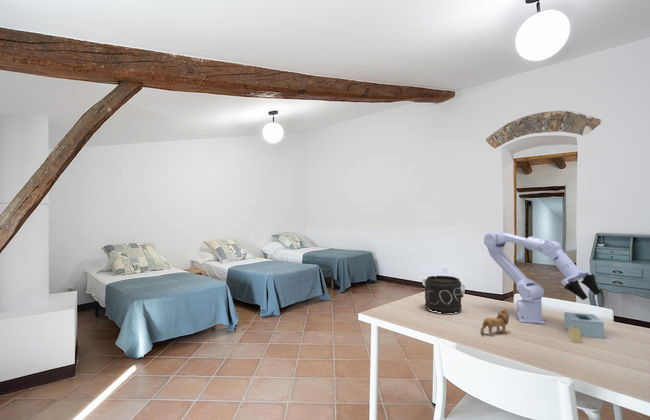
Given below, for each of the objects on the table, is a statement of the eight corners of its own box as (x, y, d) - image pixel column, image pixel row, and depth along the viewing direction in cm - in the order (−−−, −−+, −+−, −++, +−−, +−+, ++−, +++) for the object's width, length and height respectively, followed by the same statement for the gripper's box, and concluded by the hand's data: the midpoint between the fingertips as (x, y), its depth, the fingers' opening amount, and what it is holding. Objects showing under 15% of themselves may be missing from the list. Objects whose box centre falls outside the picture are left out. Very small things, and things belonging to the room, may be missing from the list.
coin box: (572, 335, 134) (572, 320, 134) (564, 326, 145) (564, 312, 145) (604, 338, 131) (603, 322, 131) (593, 328, 141) (593, 314, 141)
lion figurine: (501, 328, 143) (500, 307, 143) (513, 332, 138) (512, 310, 138) (476, 334, 137) (476, 312, 137) (488, 339, 132) (487, 315, 132)
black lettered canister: (462, 317, 160) (461, 283, 160) (422, 312, 167) (422, 280, 167) (464, 307, 176) (463, 276, 176) (428, 303, 184) (428, 274, 184)
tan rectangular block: (572, 342, 128) (572, 330, 128) (568, 337, 132) (568, 325, 132) (580, 343, 127) (580, 330, 127) (576, 338, 131) (576, 326, 131)
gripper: (561, 265, 135) (587, 296, 128) (585, 257, 140) (612, 287, 133) (549, 274, 141) (573, 304, 133) (573, 266, 146) (598, 294, 138)
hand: (592, 296), depth 133 cm, fingers open, 7 cm apart
